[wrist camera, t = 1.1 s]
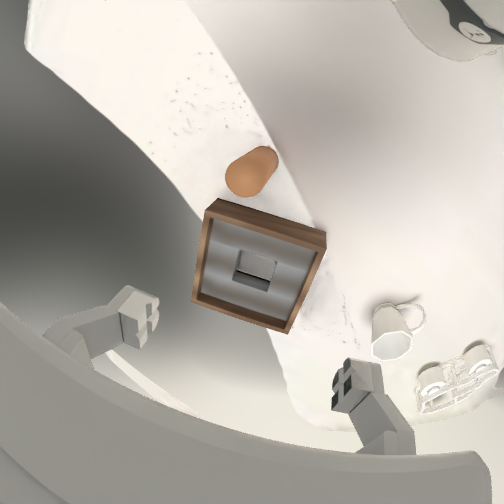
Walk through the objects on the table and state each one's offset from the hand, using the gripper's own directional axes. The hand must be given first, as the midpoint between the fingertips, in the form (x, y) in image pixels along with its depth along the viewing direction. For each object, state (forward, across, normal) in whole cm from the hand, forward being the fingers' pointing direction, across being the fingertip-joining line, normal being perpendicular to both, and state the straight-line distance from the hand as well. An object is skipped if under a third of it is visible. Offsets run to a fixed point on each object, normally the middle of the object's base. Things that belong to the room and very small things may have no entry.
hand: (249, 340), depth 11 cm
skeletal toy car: (+29, -45, +25) cm, 60 cm away
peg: (+29, +5, -1) cm, 29 cm away
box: (+29, +2, +14) cm, 32 cm away
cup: (+29, -22, +15) cm, 39 cm away
